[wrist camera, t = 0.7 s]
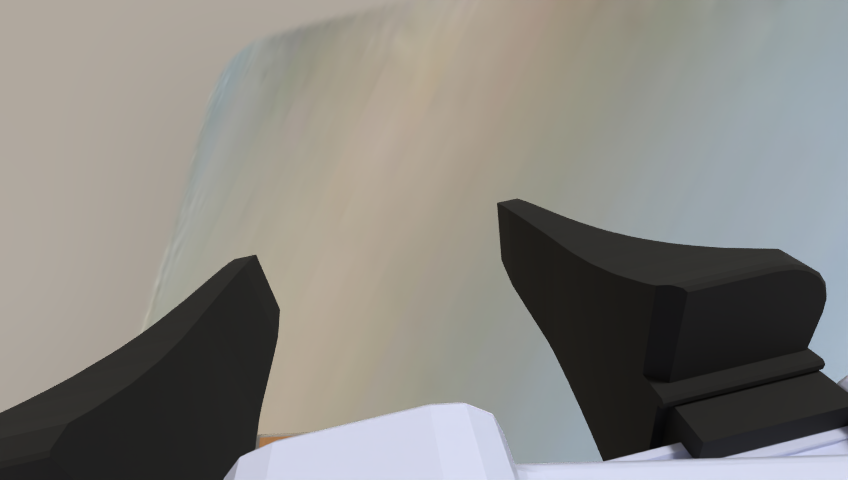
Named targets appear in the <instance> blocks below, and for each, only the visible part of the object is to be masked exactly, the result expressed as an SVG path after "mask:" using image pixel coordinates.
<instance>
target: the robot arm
mask: <svg viewBox="0 0 848 480" xmlns="http://www.w3.org/2000/svg"><path fill="white" fill-rule="evenodd" d="M497 207H498V220H499V233H500V246H501V258H502V262H503V264H504V267H505V269H506V271H507V274H508V276H509V278H510V280H511V283H512V285H513V287H514V288H515V290H516V292H517V293H518V295H519V296H520V298H521V300H522V301H523V303H524V304H525V306H526V308H527V309H528V311H529V312H530V314H531V315H532V317H533V319H534V320H535V322H536V323H537V325H538V326H539V328H540V330H541V331H542V333H543V334H544V336H545V337H546V339H547V341H548V342H549V344H550V346H551V348H552V349H553V351H554V353H555V355H556V357H557V359H558V361H559V363H560V366H561V368H562V370H563V372H564V374H565V376H566V378H567V380H568V382H569V384H570V387H571V389H572V391H573V393H574V395H575V397H576V400H577V402H578V404H579V406H580V408H581V410H582V413H583V415H584V417H585V420H586V422H587V424H588V427H589V429H590V431H591V433H592V436H593V438H594V440H595V443H596V445H597V447H598V450H599V452H600V455H601V457H602V459H603V461H601V462H567V463H532V464H514V461H513V458H512V455H511V452H510V450H509V447H508V444H507V441H506V438H505V436H504V433H503V431H502V429H501V428H500V426H499V424H498V422H497V421H496V419H495V417H494V416H493V414H492V413H489V412H486V411H484V410H481V409H479V408H476V407H474V406H471V405H468V404H466V403H462V402H458V403H440V404H428V405H424V406H419V407H415V408H411V409H407V410H403V411H398V412H394V413H390V414H386V415H382V416H377V417H373V418H369V419H365V420H360V421H356V422H352V423H348V424H344V425H339V426H335V427H331V428H327V429H323V430H318V431H314V432H310V433H306V434H302V435H297V436H293V437H289V438H285V439H281V440H276V441H274V442H272V443H270V444H267V445H265V446H263V447H260V448H258V449H256V450H255V448H256V440H257V431H258V423H259V417H260V412H261V407H262V402H263V398H264V394H265V390H266V386H267V382H268V378H269V373H270V369H271V365H272V361H273V357H274V352H275V348H276V344H277V339H278V329H279V314H280V309H279V306H278V304H277V302H276V300H275V297H274V295H273V293H272V290H271V288H270V286H269V283H268V281H267V279H266V277H265V274H264V272H263V270H262V267H261V265H260V263H259V261H258V258H257V256H256V255H252V256H248V257H243V258H238V259H235V260H233V261H231V262H230V263H228V264H227V265H226V266H225V267H223V268H222V269H221V270H220V271H218V272H217V273H216V274H215V275H214V276H212V277H211V278H210V279H209V280H208V281H207V282H205V283H204V284H203V285H202V286H201V287H200V288H198V289H197V290H196V291H195V292H194V293H193V294H191V295H190V296H189V297H188V298H187V299H185V300H184V301H183V302H182V303H181V304H179V305H178V306H177V307H175V308H174V309H173V310H172V311H170V312H169V313H168V314H167V315H165V316H164V317H163V318H162V319H160V320H159V321H158V322H157V323H155V324H154V325H153V326H151V327H150V328H149V329H147V330H146V331H144V332H143V333H142V334H140V335H139V336H137V337H136V338H134V339H133V340H131V341H130V342H128V343H127V344H125V345H124V346H122V347H121V348H120V349H118V350H116V351H115V352H113V353H112V354H110V355H108V356H107V357H105V358H103V359H102V360H100V361H98V362H96V363H95V364H93V365H91V366H90V367H88V368H86V369H85V370H83V371H81V372H80V373H78V374H76V375H74V376H73V377H71V378H69V379H67V380H65V381H64V382H62V383H60V384H58V385H56V386H54V387H52V388H50V389H48V390H46V391H44V392H42V393H40V394H38V395H37V396H34V397H32V398H31V399H29V400H27V401H25V402H22V403H20V404H18V405H16V406H14V407H12V408H10V409H8V410H6V411H4V412H1V413H0V480H848V375H847V376H846V377H844V378H843V379H842V380H840V381H839V382H838V383H837V384H836V383H835V382H834V381H832V380H831V379H830V378H828V377H827V376H826V375H825V374H823V373H822V372H821V371H819V370H821V369H823V368H824V366H825V363H824V361H823V359H822V358H821V357H819V356H818V355H817V354H815V353H814V352H813V351H811V350H810V349H809V348H808V345H809V343H810V341H811V338H812V336H813V334H814V331H815V329H816V327H817V324H818V322H819V320H820V317H821V315H822V313H823V309H824V306H825V302H826V284H825V281H824V280H823V278H822V276H821V275H820V273H819V272H817V271H815V270H814V269H812V268H810V267H809V266H807V265H805V264H804V263H802V262H800V261H798V260H797V259H795V258H793V257H792V256H790V255H788V254H787V253H785V252H783V251H781V250H779V249H753V248H717V247H704V246H691V245H682V244H673V243H666V242H659V241H653V240H646V239H641V238H636V237H631V236H627V235H622V234H618V233H614V232H610V231H606V230H602V229H599V228H596V227H593V226H589V225H586V224H583V223H580V222H577V221H575V220H572V219H569V218H566V217H564V216H561V215H559V214H556V213H553V212H551V211H549V210H546V209H544V208H541V207H539V206H536V205H534V204H531V203H529V202H526V201H523V200H520V199H513V200H509V201H504V202H499V203H497Z"/></svg>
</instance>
